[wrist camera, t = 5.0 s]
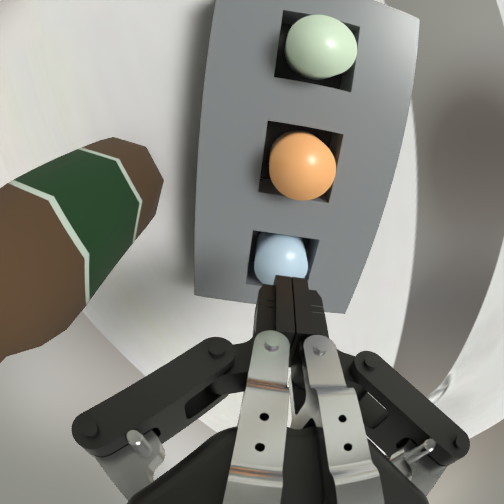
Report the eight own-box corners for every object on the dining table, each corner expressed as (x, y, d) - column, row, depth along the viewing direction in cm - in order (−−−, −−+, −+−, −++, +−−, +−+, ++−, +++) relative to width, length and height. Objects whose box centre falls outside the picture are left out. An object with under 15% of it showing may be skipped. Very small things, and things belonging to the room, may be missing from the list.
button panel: (227, -9, 12) (220, -25, 9) (400, 27, 12) (419, 18, 10) (202, 272, 24) (194, 295, 21) (338, 290, 24) (344, 313, 21)
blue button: (259, 220, 20) (257, 240, 18) (308, 227, 20) (313, 248, 18) (253, 262, 22) (251, 285, 20) (298, 268, 22) (301, 291, 20)
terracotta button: (273, 125, 16) (274, 131, 13) (330, 136, 16) (341, 143, 13) (265, 180, 18) (264, 195, 15) (320, 188, 18) (328, 205, 15)
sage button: (288, 23, 12) (291, 8, 10) (346, 35, 12) (360, 24, 10) (280, 74, 14) (282, 68, 11) (339, 85, 14) (352, 83, 12)
